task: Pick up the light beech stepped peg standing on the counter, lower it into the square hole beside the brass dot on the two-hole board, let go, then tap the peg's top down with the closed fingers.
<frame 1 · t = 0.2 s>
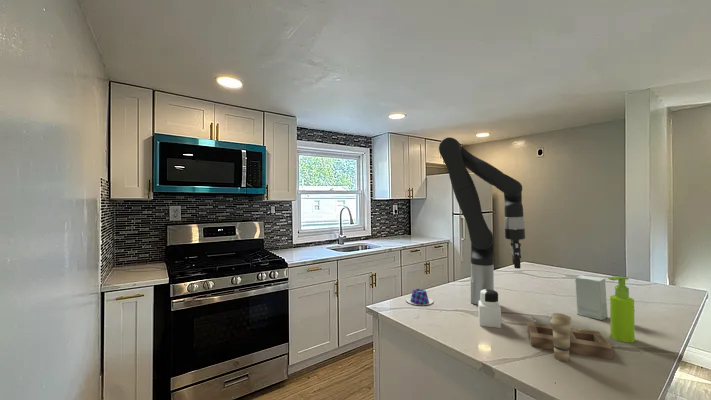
hand: (516, 266, 129), 17 cm above the counter, tool pointing down, fingers open, 8 cm apart
medicine bottle: (489, 323, 112), on the counter
board: (565, 343, 96), on the counter
peg: (561, 358, 87), on the counter
soap dispenser: (620, 339, 99), on the counter
skincare box: (591, 316, 119), on the counter
pudding: (419, 302, 137), on the counter
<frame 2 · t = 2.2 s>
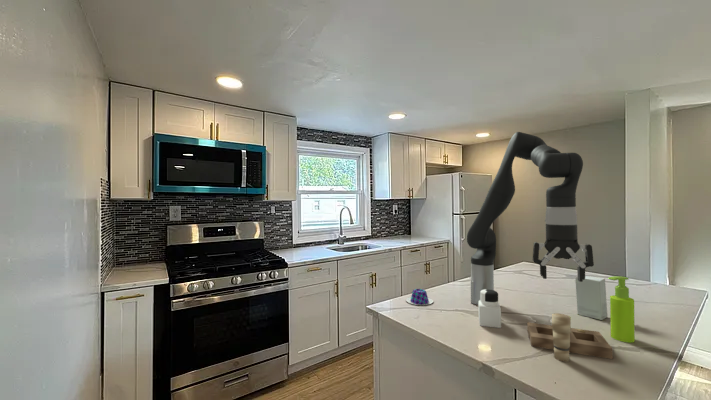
hand: (562, 279, 87), 22 cm above the counter, tool pointing down, fingers open, 8 cm apart
nothing on the counter moved.
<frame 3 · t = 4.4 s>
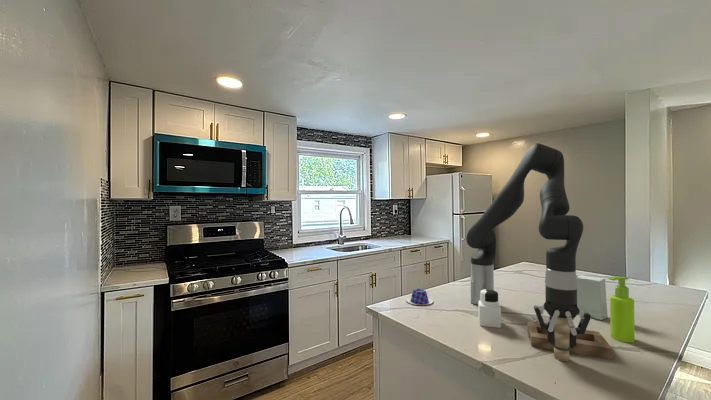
hand: (561, 345, 87), 4 cm above the counter, tool pointing down, fingers closed on peg, 4 cm apart
peg: (561, 358, 87), on the counter, touching gripper
everything else where it was.
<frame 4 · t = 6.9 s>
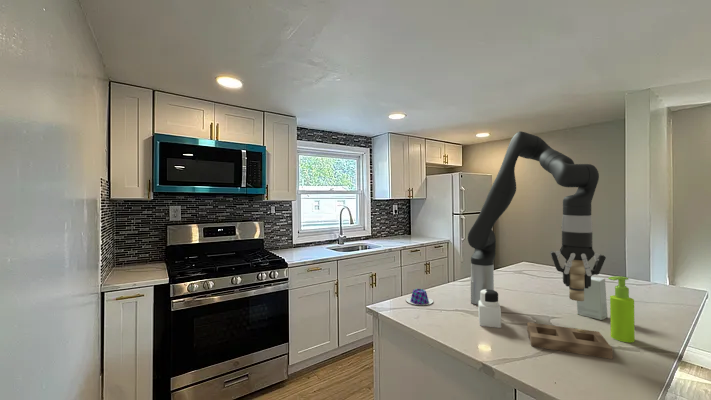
hand: (576, 286, 93), 19 cm above the counter, tool pointing down, fingers closed on peg, 4 cm apart
peg: (576, 299, 93), point 15 cm above the counter, touching gripper
everything else where it was.
when the fingers open (5 cm above the counter, at t = 9.4 s): peg drops 1 cm, resting in board.
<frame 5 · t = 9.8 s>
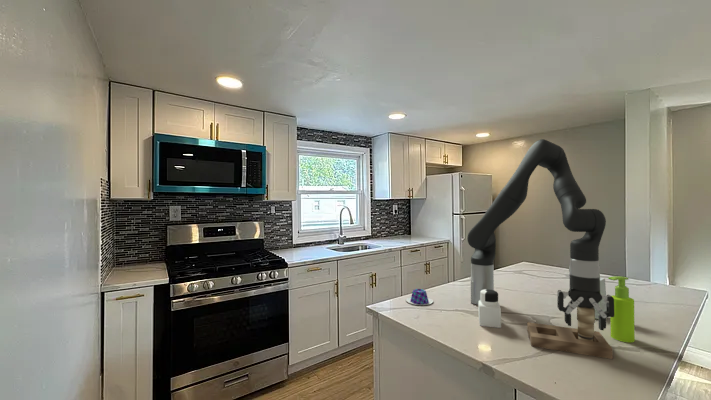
hand: (584, 327, 94), 6 cm above the counter, tool pointing down, fingers open, 7 cm apart
peg: (585, 346, 94), resting in board
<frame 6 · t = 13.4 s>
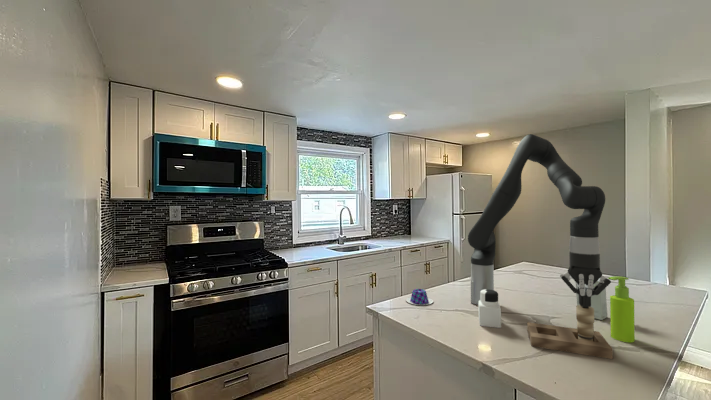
hand: (584, 307, 94), 12 cm above the counter, tool pointing down, fingers closed
peg: (585, 346, 94), resting in board, touching gripper
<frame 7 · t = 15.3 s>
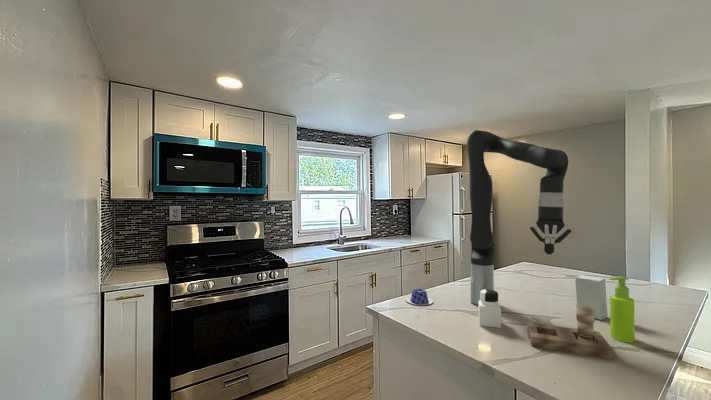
hand: (548, 254, 109), 26 cm above the counter, tool pointing down, fingers closed
peg: (585, 346, 94), resting in board
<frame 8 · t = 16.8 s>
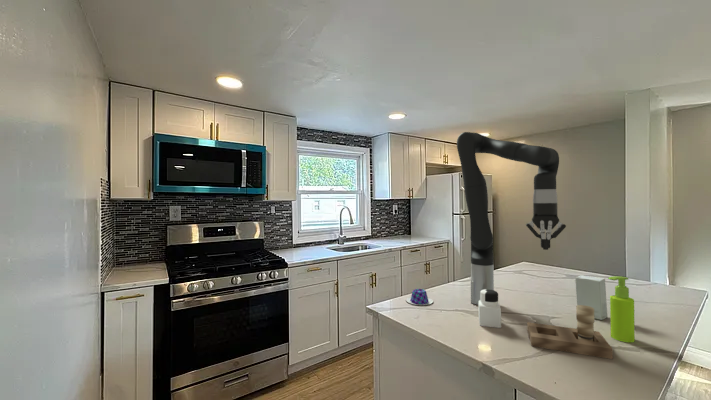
hand: (545, 249, 112), 27 cm above the counter, tool pointing down, fingers closed
at the end: peg 0.1 cm from the target spot on the board, point 0.0 cm above the board's base; peg tilted 0°; the gripper is holding nothing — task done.
